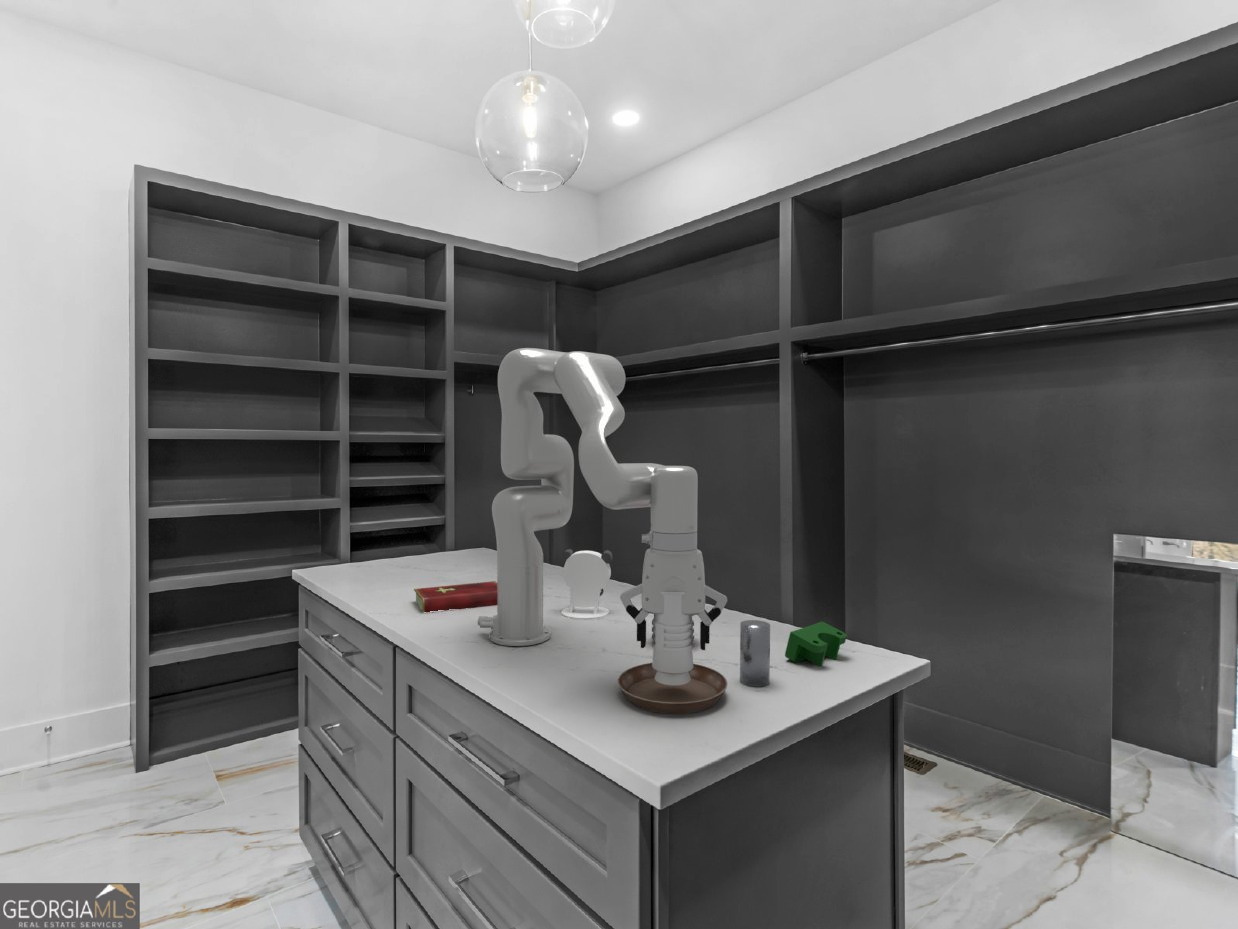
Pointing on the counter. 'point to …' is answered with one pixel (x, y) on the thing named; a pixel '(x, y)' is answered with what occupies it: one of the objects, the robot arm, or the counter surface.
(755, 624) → the metal pillar
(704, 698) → the plant saucer
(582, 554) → the panda figurine
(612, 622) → the counter surface
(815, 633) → the clamp
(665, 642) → the white ribbed cylinder
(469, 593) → the hardcover book
